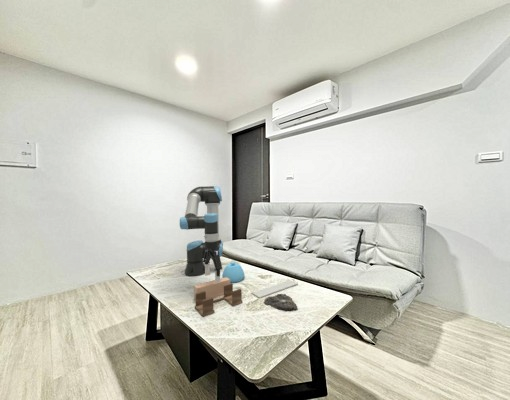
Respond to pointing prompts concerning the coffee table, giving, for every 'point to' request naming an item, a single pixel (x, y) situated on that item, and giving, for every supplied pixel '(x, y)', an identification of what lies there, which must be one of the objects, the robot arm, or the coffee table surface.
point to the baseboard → (274, 289)
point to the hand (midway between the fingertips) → (212, 278)
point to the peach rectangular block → (212, 288)
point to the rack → (206, 305)
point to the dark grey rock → (281, 302)
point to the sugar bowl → (233, 272)
